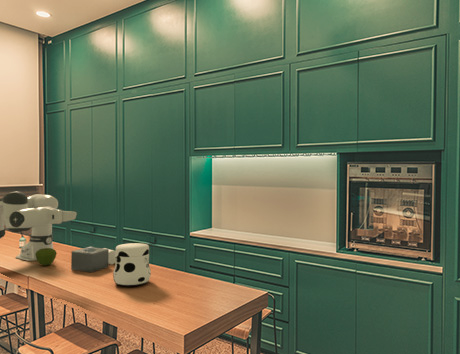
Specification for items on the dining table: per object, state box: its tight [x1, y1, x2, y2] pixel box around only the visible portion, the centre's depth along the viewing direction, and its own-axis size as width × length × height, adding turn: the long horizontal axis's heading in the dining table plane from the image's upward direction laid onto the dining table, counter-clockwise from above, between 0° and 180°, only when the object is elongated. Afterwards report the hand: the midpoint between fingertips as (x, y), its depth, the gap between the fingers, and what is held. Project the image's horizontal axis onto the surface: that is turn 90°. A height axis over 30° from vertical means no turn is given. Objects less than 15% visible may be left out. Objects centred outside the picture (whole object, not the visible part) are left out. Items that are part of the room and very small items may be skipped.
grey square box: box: [70, 247, 109, 273], centre depth 201 cm, size 14×13×10 cm
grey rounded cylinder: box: [86, 246, 95, 252], centre depth 200 cm, size 4×4×11 cm
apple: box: [35, 248, 58, 266], centre depth 206 cm, size 11×10×10 cm
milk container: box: [112, 242, 152, 287], centre depth 174 cm, size 17×17×18 cm
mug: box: [103, 247, 116, 265], centre depth 215 cm, size 12×10×8 cm
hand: (68, 213), depth 185 cm, fingers open, 8 cm apart
